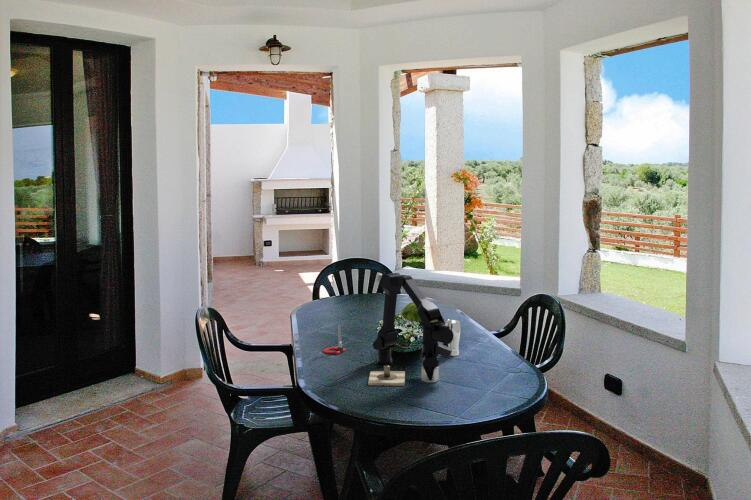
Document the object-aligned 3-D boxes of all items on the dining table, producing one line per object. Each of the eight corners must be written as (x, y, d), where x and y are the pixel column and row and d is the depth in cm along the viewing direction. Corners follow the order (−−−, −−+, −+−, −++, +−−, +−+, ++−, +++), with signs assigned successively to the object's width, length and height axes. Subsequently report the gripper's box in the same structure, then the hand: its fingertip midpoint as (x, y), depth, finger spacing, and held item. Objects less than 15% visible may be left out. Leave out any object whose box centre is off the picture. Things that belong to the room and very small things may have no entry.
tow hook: (320, 353, 278) (337, 355, 273) (318, 326, 276) (335, 327, 272) (330, 349, 285) (347, 350, 280) (328, 322, 284) (345, 323, 279)
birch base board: (370, 373, 248) (370, 370, 248) (404, 373, 247) (404, 370, 247) (368, 385, 234) (368, 382, 234) (404, 385, 233) (404, 382, 233)
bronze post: (384, 375, 242) (384, 364, 241) (390, 375, 242) (390, 364, 241) (383, 377, 240) (383, 366, 239) (389, 377, 239) (389, 366, 239)
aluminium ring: (421, 376, 243) (421, 364, 243) (438, 376, 243) (438, 364, 242) (421, 382, 237) (421, 370, 236) (439, 382, 236) (439, 370, 236)
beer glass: (463, 355, 271) (463, 322, 269) (449, 357, 268) (449, 323, 266) (455, 350, 277) (455, 318, 275) (441, 352, 275) (441, 320, 273)
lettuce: (410, 310, 323) (391, 296, 310) (449, 307, 309) (430, 292, 296) (404, 342, 315) (384, 329, 302) (444, 341, 301) (425, 327, 288)
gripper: (452, 345, 228) (452, 385, 230) (449, 332, 246) (449, 369, 248) (422, 345, 229) (422, 385, 231) (421, 332, 247) (421, 369, 249)
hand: (430, 377), depth 240 cm, fingers closed on aluminium ring, 7 cm apart
